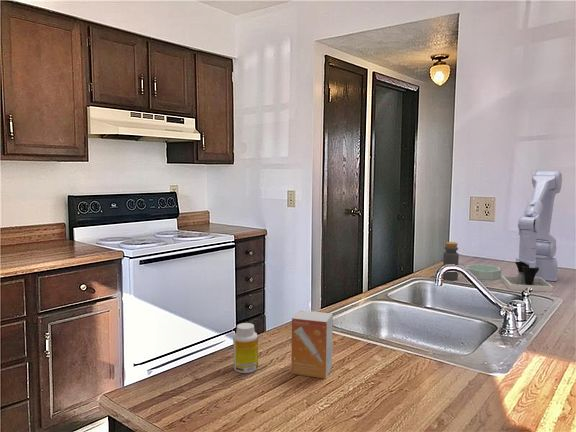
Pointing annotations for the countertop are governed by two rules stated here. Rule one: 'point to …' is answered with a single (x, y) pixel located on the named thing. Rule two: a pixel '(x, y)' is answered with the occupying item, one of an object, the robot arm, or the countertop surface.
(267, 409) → the countertop surface
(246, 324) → the supplement bottle
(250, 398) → the countertop surface
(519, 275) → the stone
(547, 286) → the tray
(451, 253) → the bottle
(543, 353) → the countertop surface
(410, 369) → the countertop surface
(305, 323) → the small box
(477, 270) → the bowl
